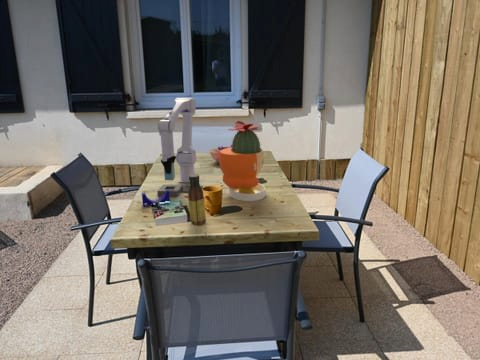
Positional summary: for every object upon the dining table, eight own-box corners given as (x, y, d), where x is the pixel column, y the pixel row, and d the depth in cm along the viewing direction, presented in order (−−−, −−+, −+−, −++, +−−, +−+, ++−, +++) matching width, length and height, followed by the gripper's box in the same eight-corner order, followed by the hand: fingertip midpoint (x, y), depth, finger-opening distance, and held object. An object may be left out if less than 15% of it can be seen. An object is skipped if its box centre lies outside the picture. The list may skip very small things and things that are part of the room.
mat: (185, 186, 212) (185, 185, 212) (202, 187, 211) (202, 185, 211) (181, 192, 203) (181, 191, 203) (199, 192, 203) (199, 191, 202)
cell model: (211, 159, 268) (210, 142, 265) (242, 159, 267) (241, 142, 264) (208, 166, 252) (207, 148, 249) (241, 165, 251) (240, 147, 248)
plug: (167, 177, 204) (165, 162, 201) (175, 178, 203) (173, 162, 201) (164, 180, 200) (163, 164, 198) (172, 180, 199) (171, 164, 197)
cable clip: (168, 200, 192) (167, 188, 191) (170, 204, 188) (169, 191, 186) (142, 203, 189) (141, 191, 187) (143, 207, 185) (142, 194, 183)
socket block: (163, 189, 209) (163, 184, 208) (182, 189, 208) (182, 184, 207) (157, 196, 199) (157, 191, 198) (177, 196, 198) (177, 191, 197)
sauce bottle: (206, 219, 168) (204, 172, 163) (205, 225, 162) (203, 177, 157) (190, 220, 168) (187, 173, 162) (189, 226, 162) (186, 177, 157)
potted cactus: (254, 185, 212) (253, 117, 202) (273, 198, 192) (273, 123, 182) (214, 191, 204) (211, 120, 195) (229, 205, 185) (227, 127, 175)
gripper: (163, 141, 204) (165, 168, 208) (154, 148, 190) (157, 176, 194) (177, 141, 203) (179, 168, 207) (169, 148, 190) (171, 176, 193)
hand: (169, 172), depth 201 cm, fingers closed on plug, 4 cm apart
